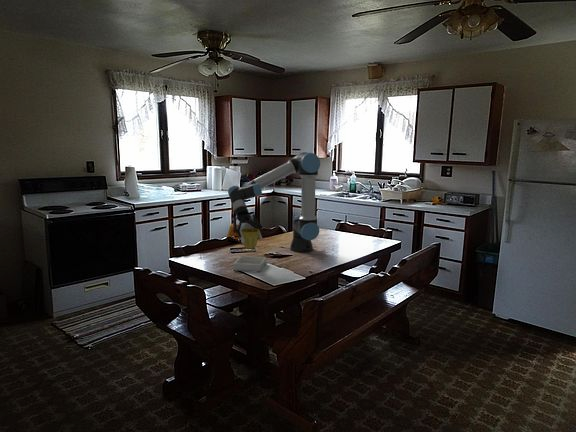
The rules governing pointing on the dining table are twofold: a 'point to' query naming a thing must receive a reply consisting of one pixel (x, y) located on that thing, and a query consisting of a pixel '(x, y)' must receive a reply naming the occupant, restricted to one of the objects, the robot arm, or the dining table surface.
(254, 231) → the plant pot
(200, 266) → the dining table surface
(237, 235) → the orange irregular lump
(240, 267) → the tray
